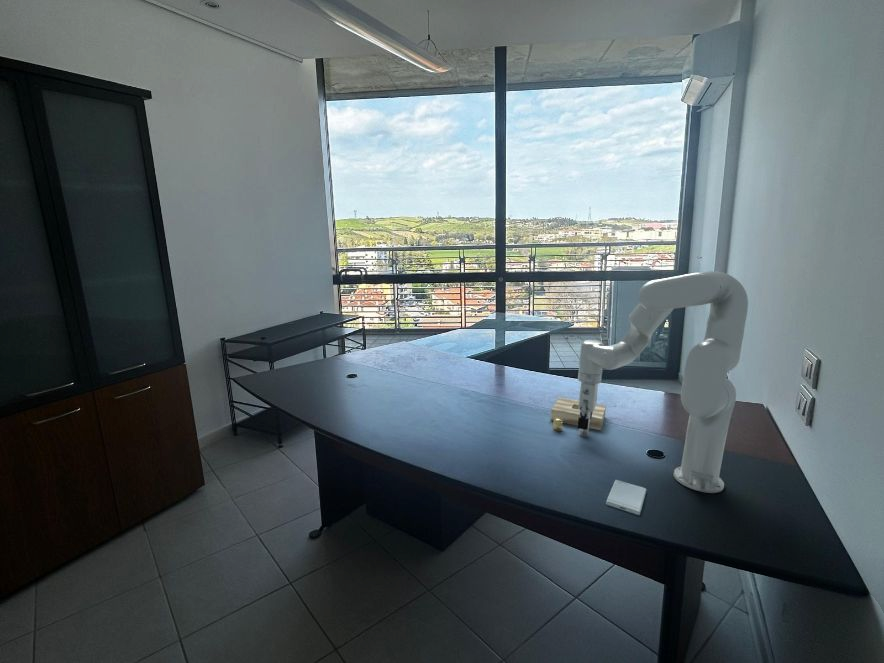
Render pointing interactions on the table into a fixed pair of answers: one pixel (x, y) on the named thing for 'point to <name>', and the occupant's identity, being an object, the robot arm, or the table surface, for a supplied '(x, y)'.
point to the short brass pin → (557, 424)
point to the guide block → (576, 413)
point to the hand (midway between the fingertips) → (584, 423)
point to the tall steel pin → (585, 432)
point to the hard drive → (626, 497)
